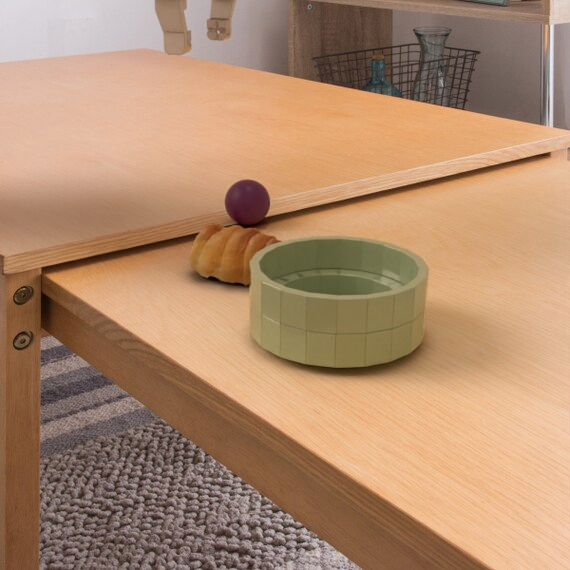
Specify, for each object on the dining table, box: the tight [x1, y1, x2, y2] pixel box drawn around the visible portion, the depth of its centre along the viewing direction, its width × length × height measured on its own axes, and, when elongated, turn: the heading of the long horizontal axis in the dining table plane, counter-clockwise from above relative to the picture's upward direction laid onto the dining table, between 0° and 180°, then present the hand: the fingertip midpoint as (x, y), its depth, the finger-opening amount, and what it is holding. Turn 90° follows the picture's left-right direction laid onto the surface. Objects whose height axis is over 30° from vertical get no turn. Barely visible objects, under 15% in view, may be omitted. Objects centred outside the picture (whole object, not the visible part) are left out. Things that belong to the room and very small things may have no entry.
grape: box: [224, 178, 271, 226], centre depth 90 cm, size 4×4×4 cm
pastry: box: [188, 222, 283, 286], centre depth 77 cm, size 9×7×4 cm
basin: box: [248, 235, 430, 369], centre depth 66 cm, size 12×12×6 cm
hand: (199, 46), depth 79 cm, fingers open, 8 cm apart
